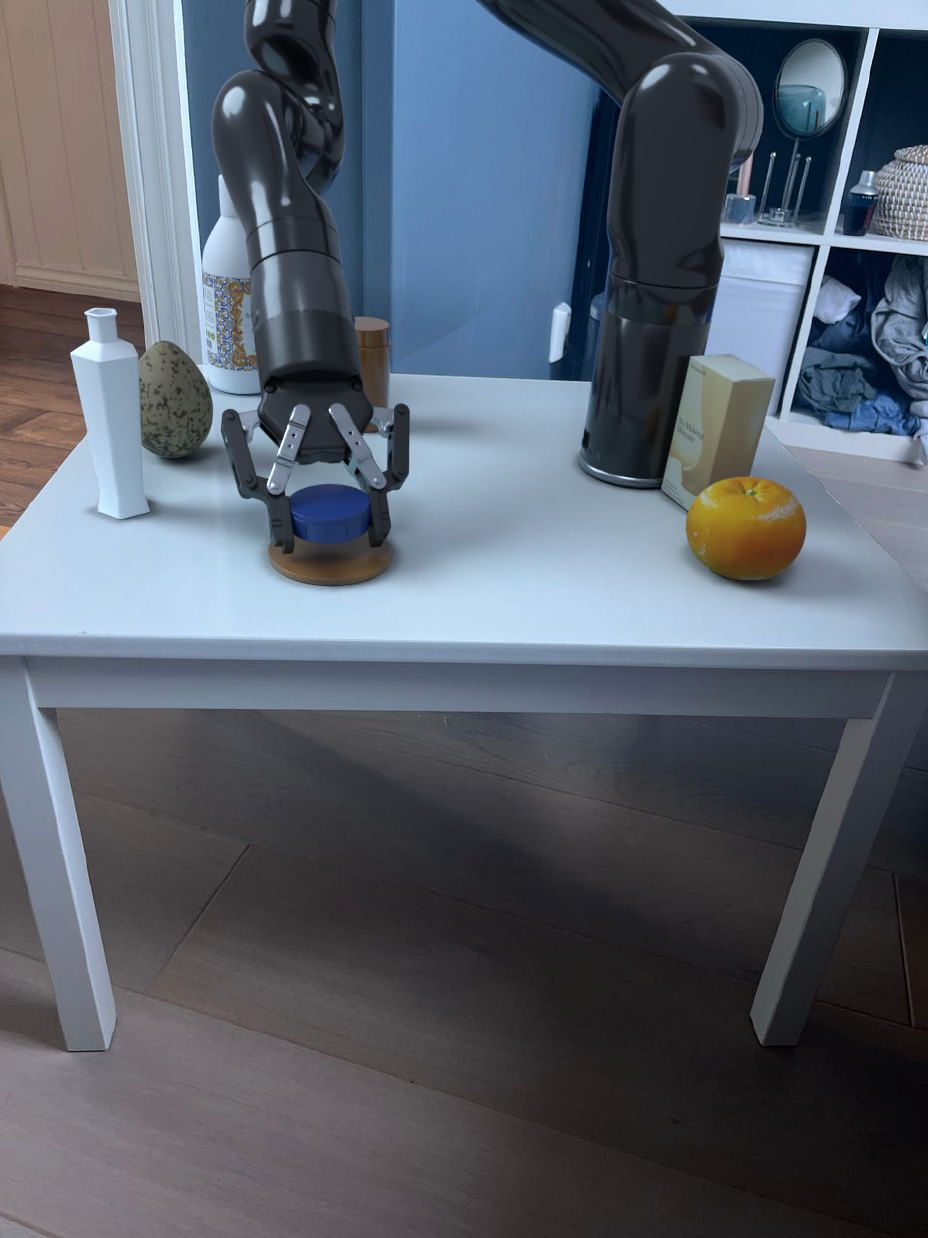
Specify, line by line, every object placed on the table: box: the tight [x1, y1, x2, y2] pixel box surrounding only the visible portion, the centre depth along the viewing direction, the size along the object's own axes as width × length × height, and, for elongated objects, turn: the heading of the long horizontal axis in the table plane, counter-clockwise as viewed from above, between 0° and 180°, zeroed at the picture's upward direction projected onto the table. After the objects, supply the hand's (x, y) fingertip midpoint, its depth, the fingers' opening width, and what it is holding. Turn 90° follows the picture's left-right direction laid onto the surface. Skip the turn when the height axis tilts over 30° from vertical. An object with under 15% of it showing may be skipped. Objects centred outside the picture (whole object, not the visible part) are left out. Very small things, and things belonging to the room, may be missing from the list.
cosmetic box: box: [661, 353, 777, 512], centre depth 81 cm, size 6×4×12 cm
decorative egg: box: [138, 340, 214, 459], centre depth 82 cm, size 7×7×10 cm
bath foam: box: [201, 173, 261, 395], centre depth 96 cm, size 7×7×20 cm
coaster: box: [267, 531, 393, 586], centre depth 71 cm, size 9×9×1 cm
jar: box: [355, 316, 392, 433], centre depth 92 cm, size 5×5×10 cm
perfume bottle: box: [69, 307, 151, 520], centre depth 71 cm, size 5×4×15 cm
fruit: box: [685, 476, 808, 581], centre depth 73 cm, size 8×8×8 cm
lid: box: [289, 483, 371, 544], centre depth 70 cm, size 6×6×2 cm
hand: (333, 546), depth 69 cm, fingers closed on lid, 5 cm apart
